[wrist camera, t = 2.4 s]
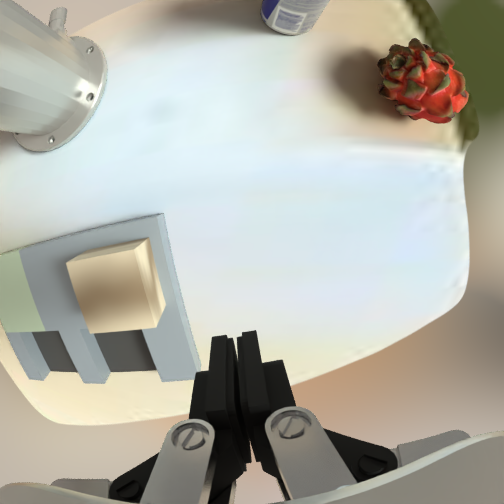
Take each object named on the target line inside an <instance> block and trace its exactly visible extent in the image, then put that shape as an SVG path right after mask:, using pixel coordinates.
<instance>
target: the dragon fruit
mask: <svg viewBox="0 0 504 504" xmlns="http://www.w3.org/2000/svg"><path fill="white" fill-rule="evenodd" d="M389 51H390V52H389V55H388V56H387V57H386V58H383V59H380V60H379V62H378V64H377V66H378V67H379V71H380V74H381V76H382V77H384V81H383V83H384V85H382V84H381V85H378V90H379V94H380V95H382V96H383V97H385V98H387V99H390V100H398V105H395V107H396V110H397V111H398V112H399V113H400V114H401V115H408V116H409V117H410V118H411V119H413V120H418V119H421V118H424V119H427V120H428V121H430V122H434V123H448V122H450V121H451V118H453V117H454V116H455V114H454V112H460V110H461V109H462V108H463V107H464V106H465V104H466V103H467V101H468V97H469V93H467V92H466V91H465V78H464V77H463V74H461V73H460V72H458V71H456V70H457V69H456V70H455V69H452V67H453V66H454V63H455V62H454V61H453V60H452V59H451V58H450V57H449V56H448V55H446V54H443V53H440V52H433V51H434V50H433V49H431V48H430V47H429V46H428V45H426V44H422V43H421V42H420V41H419V40H418V39H416V38H414V39H411V41H410V42H409V46H408V47H403V46H400V45H397V44H394V45H392V46H391V47H390V49H389ZM410 115H411V116H410Z"/></svg>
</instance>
